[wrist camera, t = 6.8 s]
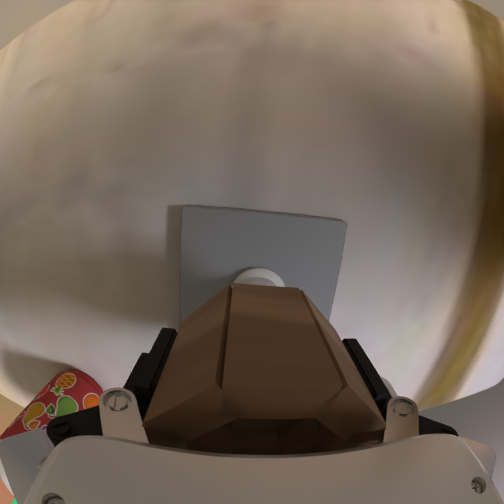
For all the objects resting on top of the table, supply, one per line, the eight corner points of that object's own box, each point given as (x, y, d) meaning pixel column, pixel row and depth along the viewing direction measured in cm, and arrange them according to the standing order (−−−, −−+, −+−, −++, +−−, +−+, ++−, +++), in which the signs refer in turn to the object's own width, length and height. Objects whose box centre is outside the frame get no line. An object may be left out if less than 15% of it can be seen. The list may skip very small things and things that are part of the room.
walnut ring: (345, 290, 11) (415, 375, 6) (314, 404, 13) (338, 493, 7) (181, 278, 11) (128, 368, 5) (185, 399, 13) (164, 491, 7)
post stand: (340, 219, 19) (375, 236, 13) (315, 348, 22) (332, 395, 16) (187, 204, 19) (161, 215, 13) (185, 339, 22) (168, 386, 16)
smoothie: (57, 391, 24) (-13, 499, 5) (55, 346, 22) (-47, 469, 3) (113, 422, 25) (61, 550, 6) (120, 382, 23) (44, 543, 4)
